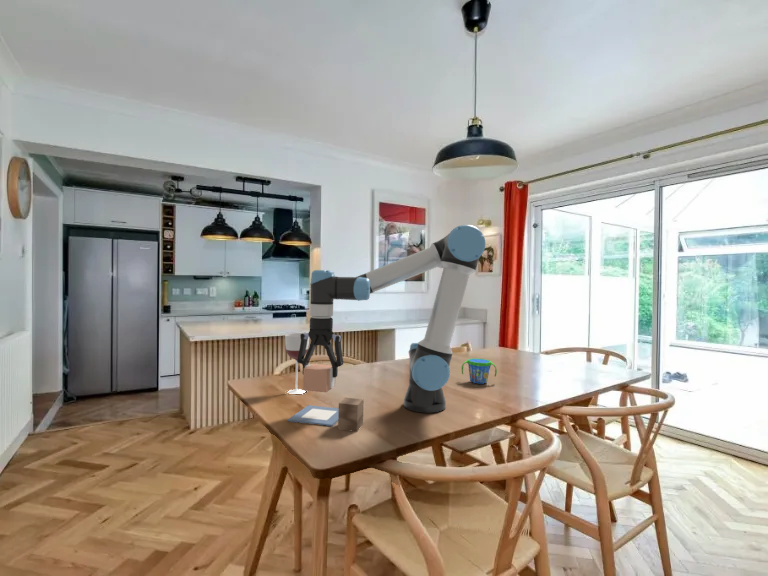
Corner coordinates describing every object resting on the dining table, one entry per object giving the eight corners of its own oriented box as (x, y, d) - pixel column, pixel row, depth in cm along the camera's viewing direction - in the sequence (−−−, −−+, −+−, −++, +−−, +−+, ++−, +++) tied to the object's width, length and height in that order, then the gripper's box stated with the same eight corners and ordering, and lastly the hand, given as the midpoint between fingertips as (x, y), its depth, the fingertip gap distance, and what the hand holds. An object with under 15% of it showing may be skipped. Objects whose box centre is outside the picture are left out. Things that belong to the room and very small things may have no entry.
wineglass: (313, 391, 156) (314, 334, 156) (295, 396, 148) (297, 337, 147) (296, 387, 161) (297, 332, 161) (278, 393, 152) (279, 335, 152)
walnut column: (363, 424, 120) (363, 399, 120) (357, 431, 115) (357, 405, 114) (344, 422, 122) (345, 397, 122) (338, 429, 116) (338, 403, 116)
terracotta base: (335, 386, 130) (335, 365, 130) (326, 392, 122) (326, 370, 122) (313, 384, 132) (313, 363, 132) (303, 390, 124) (303, 368, 124)
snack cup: (496, 381, 179) (496, 359, 179) (496, 387, 169) (497, 364, 169) (462, 378, 183) (462, 357, 183) (460, 383, 173) (460, 361, 173)
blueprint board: (348, 411, 133) (348, 409, 133) (332, 426, 118) (332, 424, 118) (308, 406, 136) (308, 405, 136) (287, 421, 122) (287, 419, 122)
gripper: (355, 317, 128) (353, 385, 128) (297, 314, 133) (295, 380, 133) (347, 319, 121) (345, 391, 121) (287, 316, 126) (285, 385, 126)
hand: (319, 385), depth 127 cm, fingers closed on terracotta base, 8 cm apart
